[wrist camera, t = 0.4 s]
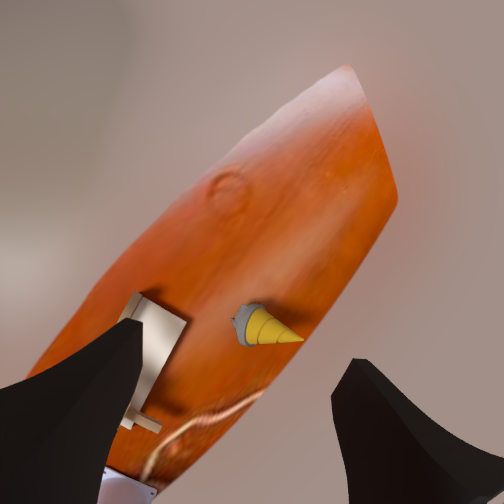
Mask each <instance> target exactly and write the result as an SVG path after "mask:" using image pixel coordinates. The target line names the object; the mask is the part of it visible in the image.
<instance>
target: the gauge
mask: <svg viewBox="0 0 504 504" xmlns="http://www.w3.org/2000/svg"><path fill="white" fill-rule="evenodd" d="M134 394H135V393H134ZM134 394H133V396H134ZM132 399H133V397H132ZM132 399H131V401H130V403H129V405H128V408H127V410H126V412H125V414H124V417H125V418H127V419H129V420H131V421H133V422H135V423H137V424H139V425H141V426H143V427H145V428H147V429H149V430H151V431H153V432H155V433H157V434H158V433H159V431H160V430H161V428H162V422H160V421H158V420H156V419H154V418H152V417H150V416H148V415H146V414H144V413H142V412H140V411H138V410H136V409H134V408H132V407H131V406H130V404H131V402H132ZM124 417H123V418H124ZM122 420H123V419H122ZM121 422H122V421H121ZM120 424H121V423H120Z"/></svg>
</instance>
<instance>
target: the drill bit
mask: <svg viewBox="0 0 504 504" xmlns="http://www.w3.org/2000/svg"><path fill="white" fill-rule="evenodd" d="M231 320H232V322H233V325H234V327H235V329H236V332H237V337H238V340H239V342H240V343H241V344H242V345H245V346H248V347H253V346H254V345H256V344H266V343H277V341H278V343H282V342H296V341H304V339H303V338H301V337H300V336H299V335H297V334H296V333H295V332H293V331H292V330H290V329H289V328H288V327H286V326H285V325H284V324H282V323H281V322H280V321H278V320H277V319H276V318H274V317H273V316H272V315H270V314H269V313H268V312H266V308H265V307H264V306H263V305H260V304H256V303H252V304H250V305H249V306H247V305H243V304H242V305H241V307H240V309H239V311H238V313H237V315H236V317H235V319H234V318H231Z"/></svg>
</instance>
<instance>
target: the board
mask: <svg viewBox="0 0 504 504" xmlns="http://www.w3.org/2000/svg"><path fill="white" fill-rule="evenodd" d="M126 317H127V318H130V319H134V320H138V321H141V322H143V367H142V370H141V374H140V377H139V380H138V383H137V386H136V389H135V392H134V393H135V394H134V396H133V399H132V402H131V404H130V406H131V407H132V408H134V409H136V410H138V411H140V410H141V408H142V406H143V404H144V402H145V400H146V398H147V396H148V394H149V392H150V390H151V388H152V386H153V384H154V383H155V381H156V379H157V377H158V375H159V373H160V371H161V369H162V367H163V365H164V364H165V362H166V360H167V358H168V356H169V354H170V352H171V350H172V349H173V347H174V345H175V343H176V341H177V339H178V337H179V336H180V334H181V332H182V330H183V328H184V326H185V324H186V323H187V322H186V321H184V320H182V319H180V318H179V317H177V316H175V315H173V314H172V313H170V312H168V311H167V310H165V309H163V308H161V307H160V306H158V305H156V304H155V303H153V302H152V301H150V300H148V299H147V298H145V297H143V295H141V294H140V293H138V292H137V291H134V293H133V295H132V296H131V298H130V300H129V302H128V303H127V305H126V307H125V309H124V311H123V312H122V314H121V316H120V318H119V320H118V321H117V323H118V322H120V321H121V320H123V319H124V318H126ZM117 323H116V324H117ZM133 423H134V422H133V421H131V420H129V419H127V418H125V417H124V418H123V420H122V422H121V424H120V425H122V426H124V427H126V428H128V429H131V427H132V425H133Z"/></svg>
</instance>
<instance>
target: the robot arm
mask: <svg viewBox="0 0 504 504" xmlns="http://www.w3.org/2000/svg"><path fill="white" fill-rule="evenodd" d="M142 367H143V322H141V321H138V320H134V319H130V318H127V317H126V318H124V319H123V320H121V321H120V322H118V323H117V324H116V325H114V326H113V327H112V328H110V329H109V330H107V331H106V332H105V333H103V334H102V335H101V336H99V337H98V338H96V339H95V340H94V341H92V342H91V343H89V344H88V345H86V346H85V347H83V348H82V349H81V350H79V351H77V352H76V353H74V354H73V355H71V356H69V357H68V358H66V359H65V360H63V361H61V362H60V363H58V364H56V365H55V366H53V367H51V368H49V369H47V370H45V371H43V372H41V373H39V374H37V375H35V376H33V377H31V378H29V379H26V380H24V381H21V382H19V383H16V384H13V385H10V386H8V387H5V388H2V389H0V504H151V502H152V500H153V499H154V497H155V495H156V494H157V490H156V489H155V488H153V487H150V486H148V485H145V484H143V483H140V482H138V481H136V480H134V479H131V478H129V477H127V476H125V475H123V474H120V473H118V472H116V471H114V470H112V469H110V468H108V467H106V466H105V465H106V461H107V458H108V454H109V451H110V448H111V445H112V442H113V439H114V437H115V435H116V433H117V430H118V428H119V426H120V423H121V421H122V419H123V417H124V414H125V412H126V410H127V408H128V405H129V403H130V401H131V399H132V397H133V394H134V392H135V389H136V386H137V383H138V380H139V377H140V374H141V370H142ZM331 403H332V413H333V420H334V424H335V429H336V433H337V437H338V441H339V445H340V449H341V453H342V457H343V461H344V465H345V469H346V475H347V482H348V494H349V504H487V502H488V501H490V500H492V499H493V498H494V497H496V496H497V495H498V494H500V493H501V492H503V491H504V458H502V457H499V456H496V455H493V454H490V453H487V452H485V451H483V450H480V449H478V448H476V447H474V446H472V445H470V444H468V443H466V442H465V441H463V440H461V439H459V438H457V437H456V436H454V435H453V434H451V433H450V432H448V431H447V430H445V429H444V428H443V427H441V426H440V425H438V424H437V423H436V422H434V421H433V420H432V419H431V418H429V417H428V416H427V415H426V414H425V413H423V412H422V411H421V410H420V409H419V408H418V407H417V406H416V405H414V404H413V403H412V402H411V401H410V400H409V399H408V398H407V397H406V396H405V395H404V394H403V393H402V392H401V391H400V390H399V389H398V388H397V387H396V386H395V385H394V384H393V383H392V382H390V380H389V379H388V378H387V377H386V376H385V375H384V374H383V373H382V372H380V371H379V370H378V369H377V368H376V367H375V366H374V365H373V364H372V363H371V362H370V361H368V360H367V359H354V358H353V359H352V361H351V363H350V364H349V366H348V368H347V370H346V372H345V373H344V375H343V377H342V378H341V380H340V382H339V383H338V385H337V387H336V388H335V390H334V392H333V393H332V395H331ZM104 471H105V472H106V473H105V472H104ZM151 493H154V494H151ZM503 504H504V503H503Z"/></svg>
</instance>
